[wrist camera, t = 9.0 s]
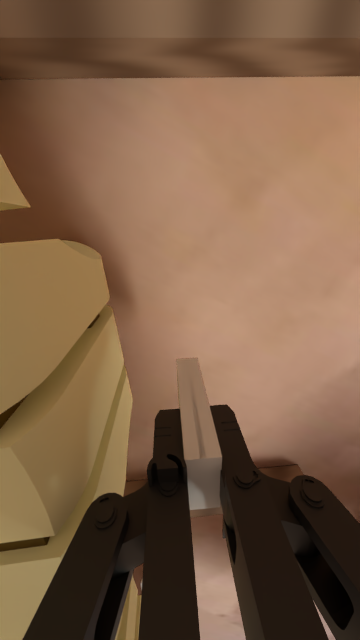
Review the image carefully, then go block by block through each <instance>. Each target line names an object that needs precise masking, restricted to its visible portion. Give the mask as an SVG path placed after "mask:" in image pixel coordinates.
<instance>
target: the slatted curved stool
mask: <svg viewBox="0 0 360 640" xmlns="http://www.w3.org/2000/svg"><path fill="white" fill-rule="evenodd" d="M29 207H31V206H30V205H29V203H28V202H27V200H26V198H25V197H24V195H23V194H22V192H21V191H20V189H19V187H18V185H17V184H16V182H15V180H14V178H13V177H12V175H11V173H10V171H9V169H8V168H7V166H6V164H5V162H4V160H3V158H2V156H1V154H0V211H1V210H10V209H20V208H29ZM109 299H110V295H109V290H108V285H107V281H106V276H105V272H104V267H103V263H102V258H101V255H100V254H99V253H98V252H97V251H95V250H94V249H92V248H91V247H89V246H86V245H84V244H81V243H78V242H74V241H67V240H60V239H49V240H36V241H24V242H11V243H0V640H22V639H23V637H24V635H25V633H26V631H27V629H28V627H29V625H30V623H31V621H32V619H33V617H34V615H35V613H36V611H37V609H38V607H39V605H40V603H41V601H42V599H43V597H44V595H45V593H46V591H47V589H48V587H49V585H50V583H51V581H52V579H53V577H54V575H55V573H56V571H57V569H58V567H59V565H60V563H61V561H62V559H63V557H64V555H65V553H66V551H67V549H68V547H69V545H70V543H71V541H72V539H73V537H74V535H75V533H76V531H77V529H78V527H79V524H80V522H81V520H82V518H83V516H84V514H85V512H86V511H87V509H88V508H89V506H90V505H91V503H92V502H93V501H94V500H96V499H97V498H98V497H99V496H101V495H103V494H106V493H117V494H119V495H121V496H122V497H123V495H124V488H125V481H126V468H127V453H128V439H129V429H130V419H131V411H132V403H133V398H132V394H131V389H130V385H129V380H128V376H127V371H126V368H125V366H124V358H123V353H122V349H121V344H120V340H119V335H118V331H117V326H116V322H115V317H114V313H113V309H112V308H111V307H110V306H108V305H106V303H107V302H108V301H109ZM137 595H138V589H137V587H136V584H135V581H134V578H133V575H132V579H131V582H130V586H129V590H128V593H127V597H126V601H125V604H124V608H123V612H122V615H121V619H120V623H119V626H118V630H117V634H116V637H115V640H138V637H139V622H140V608H141V595H138V596H137Z"/></svg>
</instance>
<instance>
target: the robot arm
mask: <svg viewBox="0 0 360 640" xmlns="http://www.w3.org/2000/svg"><path fill="white" fill-rule="evenodd" d="M176 362H177V381H178V399H179V409H169V410H160V411H159V413H158V414H157V416H156V418H155V430H154V448H153V458H152V459H151V461H150V462H149V464H148V468H147V475H148V481H147V482H146V484H145V485H144V486H143V487H141V488H140V489H139V490H137V491H135V492H133V493H131V494H128V495H126V496H124V497H122V496H121V495H119V494H117V493H106V494H103V495H101V496H99V497H98V498H97V499H96V500H94V501H93V502H92V503H91V505H90V506H89V508H88V509H87V511H86V512H85V514H84V516H83V518H82V520H81V522H80V524H79V527H78V529H77V531H76V533H75V535H74V537H73V539H72V541H71V543H70V545H69V547H68V549H67V551H66V553H65V555H64V557H63V559H62V561H61V563H60V565H59V567H58V569H57V571H56V573H55V575H54V577H53V579H52V581H51V583H50V585H49V587H48V589H47V591H46V593H45V595H44V597H43V599H42V601H41V603H40V605H39V607H38V609H37V611H36V613H35V615H34V617H33V619H32V621H31V623H30V625H29V627H28V629H27V631H26V633H25V635H24V637H23V639H22V640H115V637H116V634H117V630H118V626H119V623H120V619H121V615H122V612H123V608H124V604H125V601H126V597H127V593H128V590H129V586H130V582H131V579H132V575H133V571H134V568H135V567H137V566H139V565H141V564H142V563H144V565H143V580H142V594H141V608H140V622H139V637H138V640H200V632H199V619H198V607H197V595H196V582H195V570H194V557H193V545H192V532H191V520H190V510H196V509H207V508H217V507H220V501H221V506H222V511H223V530H222V531H223V538H226V542H227V547H228V552H229V557H230V562H231V567H232V572H233V577H234V582H235V587H236V591H237V596H238V601H239V606H240V611H241V616H242V621H243V626H244V631H245V636H246V640H329V639H328V637H327V634H326V632H325V629H324V627H323V624H322V622H321V619H320V617H319V614H318V612H317V609H316V607H315V604H316V606H317V607H318V609H319V611H320V613H321V614H322V616H323V618H324V620H325V621H326V623H327V625H328V627H329V628H330V630H331V632H332V634H333V635H334V637H335V639H336V640H360V524H359V523H358V521H357V520H356V519H355V518H354V517H353V516H352V515H351V514H350V512H349V511H348V510H347V509H346V508H345V507H344V506H343V504H342V503H341V502H340V501H339V500H338V499H337V498H336V497H335V495H334V494H333V493H332V492H331V491H330V490H329V489H328V488H327V487H326V486H325V485H324V484H323V483H322V482H321V481H319V480H317V479H315V478H313V477H311V476H306V475H299V476H296V477H295V478H293V479H292V480H291V482H287V481H283V480H279V479H275V478H272V477H269V476H267V475H265V474H264V473H262V472H261V471H260V470H259V469H258V468H257V467H256V466H255V465H254V463H253V461H252V459H251V457H250V454H249V451H248V449H247V446H246V443H245V441H244V438H243V435H242V433H241V430H240V427H239V425H238V423H237V419H236V417H235V414H234V412H233V411H232V410H231V409H230V407H229V406H228V405H214V406H209V402H208V398H207V394H206V390H205V386H204V382H203V378H202V374H201V370H200V366H199V362H198V358H185V359H176ZM313 600H314V602H315V604H314V602H313Z"/></svg>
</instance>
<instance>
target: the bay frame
mask: <svg viewBox="0 0 360 640" xmlns="http://www.w3.org/2000/svg"><path fill="white" fill-rule="evenodd" d="M295 76H360V0H0V79H47V78H171V77H295ZM259 470H260V471H261V472H262V473H264V474H265V475H267V476H269V477H272V478H275V479H279V480H283V481H287V482H291V480H292V479H293V478H295V477H296V476H299V475H304V474H303V473H302V471H301V469H300V467H299V466H298V465H289V466H279V467H269V468H259ZM147 481H148V479H147V480H137V481H127V482H125V488H124V495H123V497H124V496H126V495H128V494H131V493H133V492H135V491H137V490H139V489H140V488H141V487H143V486H144V485H145V484H146V482H147ZM219 514H223V511H222V506H221V501H220V507H217V508H207V509H196V510H190V518H191V517H200V516H210V515H219Z"/></svg>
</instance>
